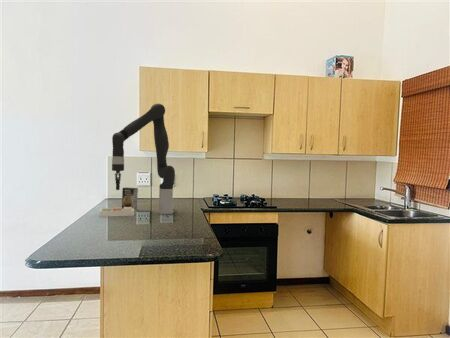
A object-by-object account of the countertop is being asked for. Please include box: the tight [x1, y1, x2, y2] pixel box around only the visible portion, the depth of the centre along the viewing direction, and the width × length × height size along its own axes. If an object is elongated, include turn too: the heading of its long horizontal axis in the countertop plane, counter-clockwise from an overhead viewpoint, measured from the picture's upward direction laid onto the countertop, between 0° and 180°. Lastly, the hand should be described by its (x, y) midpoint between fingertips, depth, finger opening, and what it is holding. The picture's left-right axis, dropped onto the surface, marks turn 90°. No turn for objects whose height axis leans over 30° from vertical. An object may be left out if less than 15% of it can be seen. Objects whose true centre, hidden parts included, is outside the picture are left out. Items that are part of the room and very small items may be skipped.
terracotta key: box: [112, 206, 122, 211], centre depth 207 cm, size 5×5×3 cm
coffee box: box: [121, 187, 139, 212], centre depth 227 cm, size 9×6×16 cm
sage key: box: [101, 206, 112, 211], centre depth 205 cm, size 5×5×3 cm
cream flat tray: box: [99, 208, 135, 218], centre depth 207 cm, size 21×8×4 cm, turn 109°
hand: (117, 189), depth 207 cm, fingers closed
